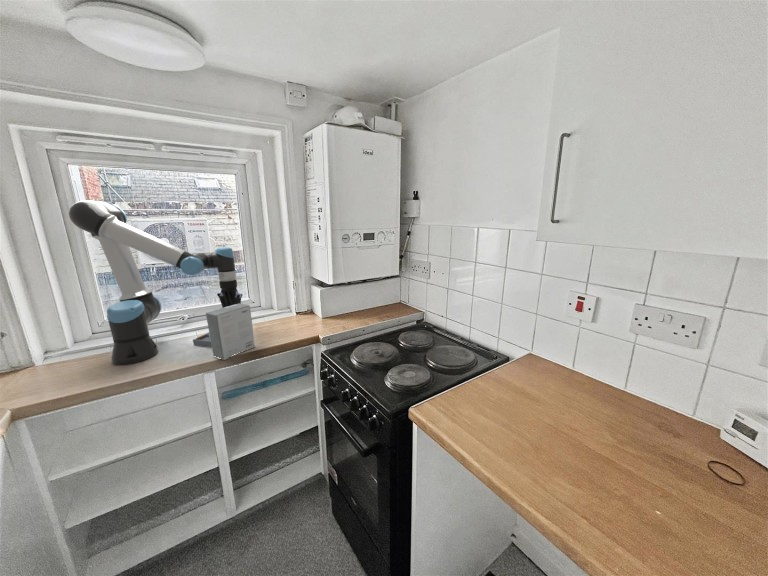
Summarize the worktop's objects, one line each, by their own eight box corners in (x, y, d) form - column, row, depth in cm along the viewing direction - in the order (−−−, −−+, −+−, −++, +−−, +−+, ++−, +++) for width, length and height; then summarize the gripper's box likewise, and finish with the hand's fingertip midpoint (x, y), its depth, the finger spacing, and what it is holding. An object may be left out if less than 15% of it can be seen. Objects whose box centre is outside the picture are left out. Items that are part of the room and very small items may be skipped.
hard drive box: (245, 343, 139) (240, 302, 134) (255, 347, 135) (250, 305, 130) (212, 357, 126) (205, 312, 121) (222, 361, 122) (216, 315, 117)
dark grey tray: (193, 345, 137) (192, 339, 137) (225, 329, 156) (224, 324, 156) (217, 347, 134) (216, 341, 134) (247, 331, 153) (246, 326, 153)
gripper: (210, 280, 142) (217, 327, 147) (233, 281, 139) (239, 329, 144) (222, 277, 149) (228, 322, 154) (244, 278, 146) (250, 324, 151)
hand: (233, 325), depth 149 cm, fingers closed
